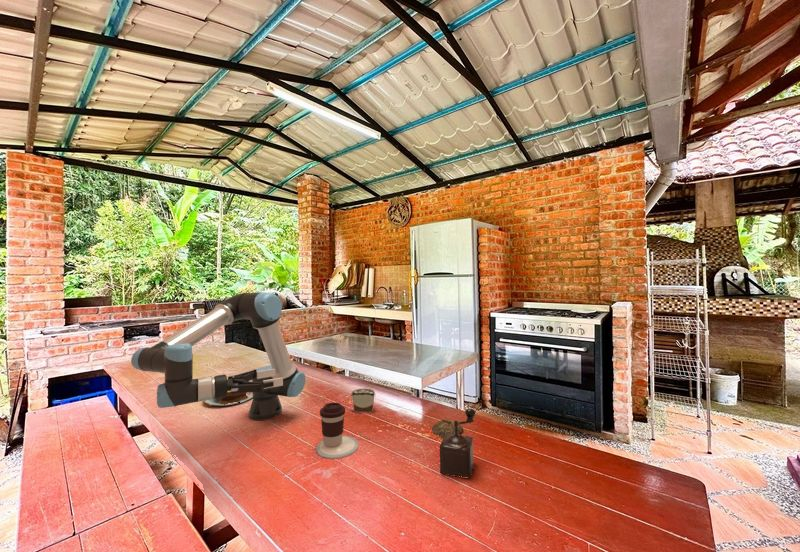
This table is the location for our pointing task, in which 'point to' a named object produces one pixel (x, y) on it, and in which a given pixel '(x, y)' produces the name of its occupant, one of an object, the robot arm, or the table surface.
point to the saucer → (338, 448)
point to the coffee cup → (332, 424)
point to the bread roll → (445, 428)
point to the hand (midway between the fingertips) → (278, 376)
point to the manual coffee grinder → (458, 451)
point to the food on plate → (230, 398)
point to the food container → (363, 400)
